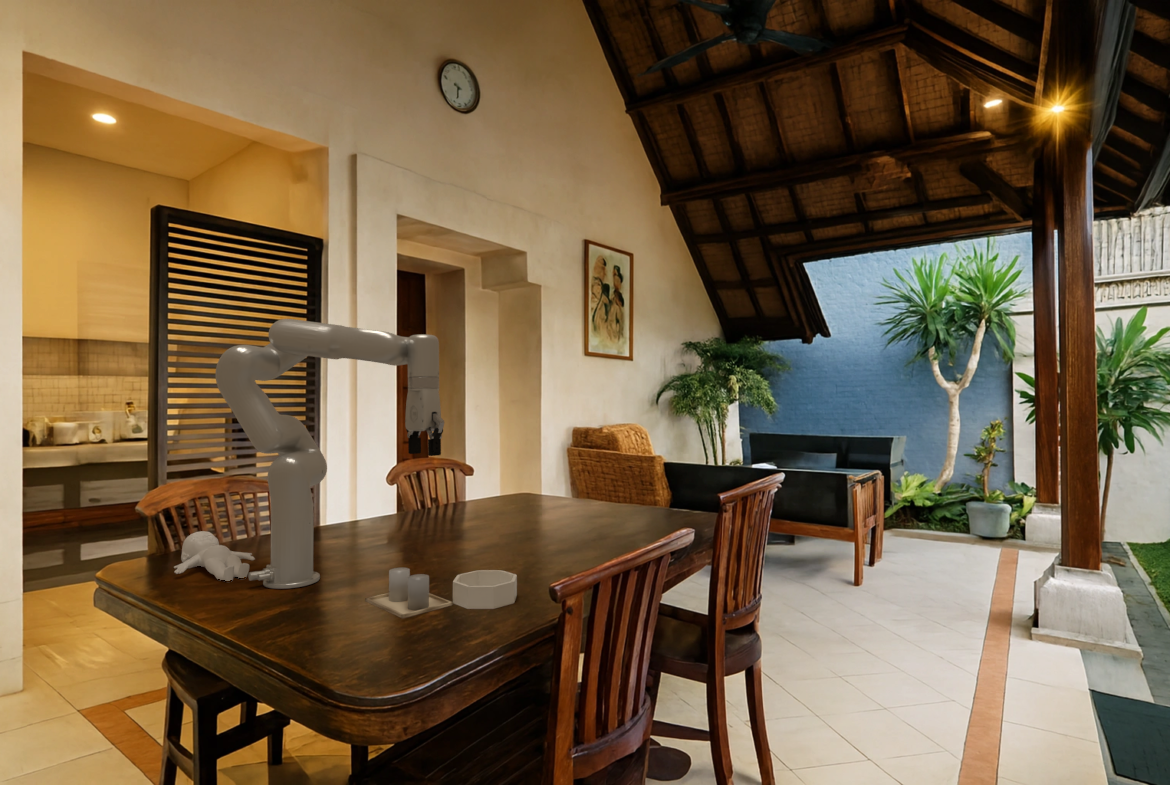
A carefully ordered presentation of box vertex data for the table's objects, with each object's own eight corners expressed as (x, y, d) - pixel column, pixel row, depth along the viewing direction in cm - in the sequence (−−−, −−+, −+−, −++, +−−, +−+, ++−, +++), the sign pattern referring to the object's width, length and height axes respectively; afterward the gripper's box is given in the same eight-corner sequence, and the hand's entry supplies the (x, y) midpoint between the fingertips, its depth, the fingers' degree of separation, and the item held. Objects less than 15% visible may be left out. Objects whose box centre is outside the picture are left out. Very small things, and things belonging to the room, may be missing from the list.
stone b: (414, 611, 133) (414, 581, 133) (403, 607, 136) (403, 576, 137) (432, 607, 137) (433, 576, 137) (421, 602, 140) (422, 573, 140)
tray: (402, 620, 129) (402, 615, 129) (365, 602, 141) (365, 598, 141) (452, 606, 138) (452, 602, 138) (413, 591, 149) (413, 587, 149)
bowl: (478, 614, 133) (478, 590, 133) (442, 600, 142) (442, 578, 142) (528, 600, 142) (528, 578, 142) (491, 588, 152) (491, 567, 152)
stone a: (395, 603, 139) (395, 573, 139) (385, 599, 142) (385, 570, 142) (413, 599, 142) (413, 570, 142) (403, 594, 145) (403, 566, 145)
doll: (195, 565, 151) (153, 532, 170) (192, 603, 151) (151, 565, 170) (277, 550, 165) (230, 521, 185) (275, 585, 166) (228, 553, 185)
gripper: (393, 385, 162) (393, 453, 161) (427, 383, 149) (428, 457, 149) (420, 386, 167) (421, 452, 166) (455, 384, 154) (456, 455, 154)
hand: (424, 454), depth 158 cm, fingers open, 9 cm apart
